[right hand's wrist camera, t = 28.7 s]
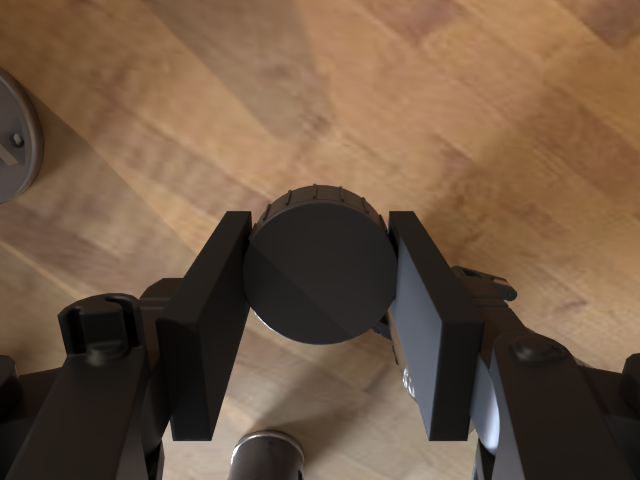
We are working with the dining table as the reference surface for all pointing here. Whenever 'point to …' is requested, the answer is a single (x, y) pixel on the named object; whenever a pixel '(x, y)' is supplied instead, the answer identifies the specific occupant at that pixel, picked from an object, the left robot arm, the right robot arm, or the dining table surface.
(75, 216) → the dining table surface
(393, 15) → the dining table surface
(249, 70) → the dining table surface
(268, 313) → the cap
